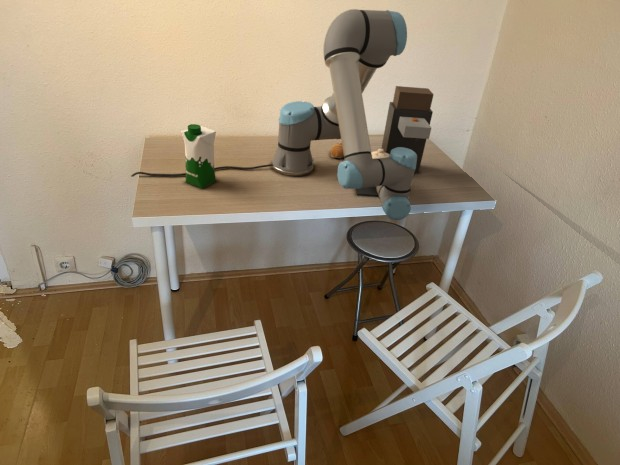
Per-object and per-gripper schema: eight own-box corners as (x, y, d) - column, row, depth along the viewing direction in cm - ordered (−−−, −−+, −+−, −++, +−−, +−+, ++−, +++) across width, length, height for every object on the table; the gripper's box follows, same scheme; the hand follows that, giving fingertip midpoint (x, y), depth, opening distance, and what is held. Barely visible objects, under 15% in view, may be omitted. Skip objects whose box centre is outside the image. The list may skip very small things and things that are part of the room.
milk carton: (181, 182, 157) (178, 124, 147) (200, 173, 164) (198, 117, 153) (202, 190, 154) (199, 132, 143) (220, 181, 161) (219, 124, 150)
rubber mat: (394, 197, 162) (394, 195, 162) (357, 195, 161) (357, 193, 161) (387, 180, 173) (387, 178, 173) (352, 178, 172) (352, 176, 172)
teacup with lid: (391, 187, 160) (398, 155, 154) (365, 187, 159) (370, 154, 152) (382, 171, 170) (387, 141, 164) (357, 171, 169) (362, 140, 162)
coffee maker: (424, 184, 173) (444, 103, 156) (387, 182, 171) (403, 100, 155) (413, 164, 187) (430, 88, 171) (378, 162, 186) (392, 85, 170)
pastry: (343, 161, 184) (344, 152, 182) (326, 157, 185) (327, 148, 183) (349, 152, 191) (350, 143, 189) (333, 149, 193) (334, 140, 191)
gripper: (352, 194, 147) (344, 164, 166) (419, 198, 149) (403, 167, 168) (355, 172, 143) (346, 144, 162) (424, 176, 145) (408, 147, 164)
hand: (375, 156), depth 165 cm, fingers closed on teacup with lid, 9 cm apart
